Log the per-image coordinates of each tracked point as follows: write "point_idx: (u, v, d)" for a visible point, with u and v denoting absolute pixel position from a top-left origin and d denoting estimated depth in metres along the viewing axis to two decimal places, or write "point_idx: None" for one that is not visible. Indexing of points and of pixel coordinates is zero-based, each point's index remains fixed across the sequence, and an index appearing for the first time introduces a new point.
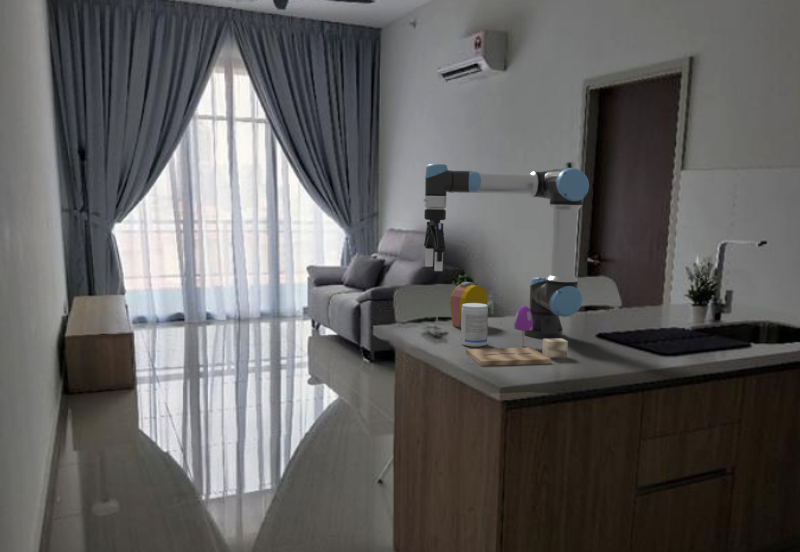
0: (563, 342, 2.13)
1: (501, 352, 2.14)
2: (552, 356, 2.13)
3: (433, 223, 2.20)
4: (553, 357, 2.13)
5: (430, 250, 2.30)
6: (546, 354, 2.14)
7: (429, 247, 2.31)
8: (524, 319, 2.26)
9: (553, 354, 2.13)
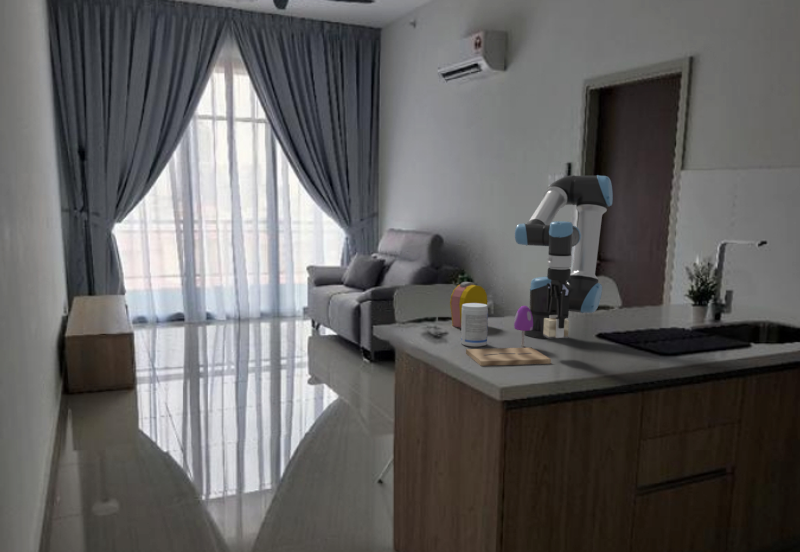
0: (564, 321, 2.13)
1: (501, 352, 2.14)
2: (553, 335, 2.13)
3: (559, 283, 2.10)
4: (554, 336, 2.13)
5: (554, 317, 2.17)
6: (547, 333, 2.13)
7: (553, 313, 2.17)
8: (524, 319, 2.26)
9: (554, 333, 2.13)
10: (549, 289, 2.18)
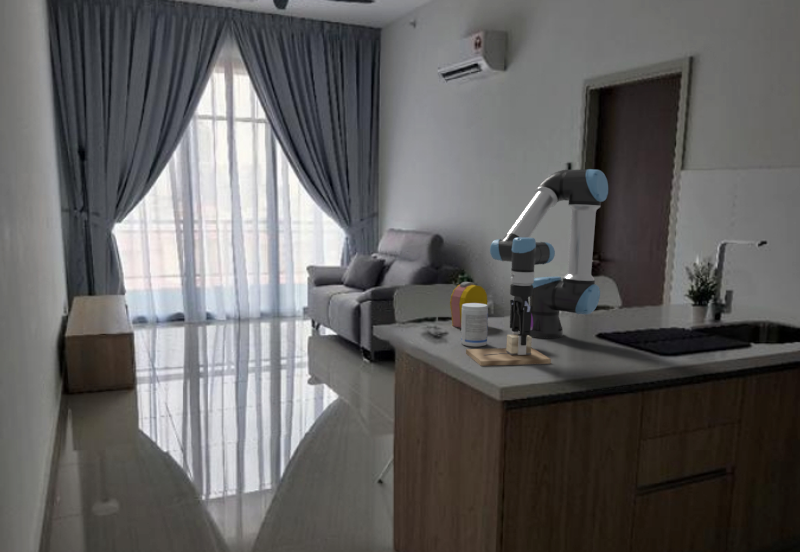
0: (527, 338, 2.10)
1: (501, 352, 2.14)
2: (516, 352, 2.10)
3: (521, 299, 2.08)
4: (517, 353, 2.10)
5: (517, 333, 2.14)
6: (510, 350, 2.11)
7: (516, 330, 2.15)
8: None
9: (517, 350, 2.10)
10: (512, 305, 2.15)
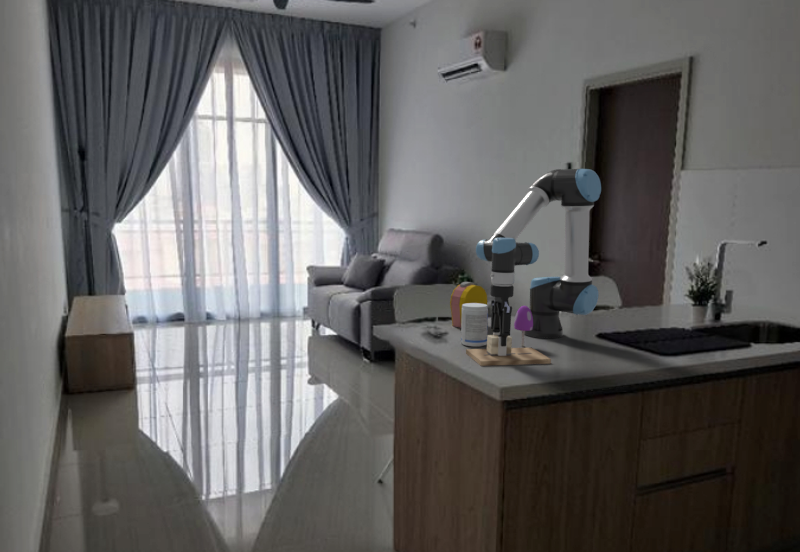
0: (507, 338, 2.09)
1: None
2: (496, 353, 2.09)
3: (501, 300, 2.06)
4: (497, 354, 2.09)
5: (498, 334, 2.13)
6: (490, 351, 2.09)
7: (497, 331, 2.13)
8: (524, 319, 2.26)
9: (497, 351, 2.09)
10: (493, 306, 2.14)
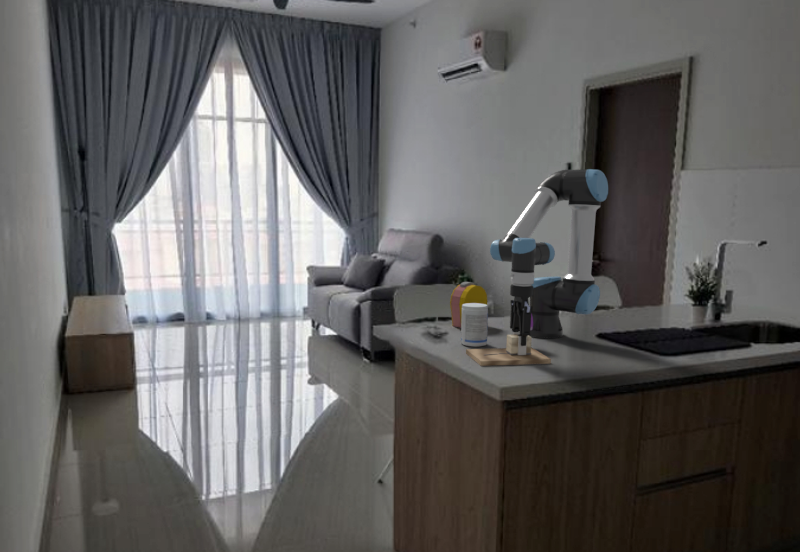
0: (527, 338, 2.10)
1: (501, 352, 2.14)
2: (515, 352, 2.10)
3: (521, 300, 2.08)
4: (516, 353, 2.10)
5: (518, 334, 2.14)
6: (509, 350, 2.11)
7: (516, 330, 2.15)
8: None
9: (517, 350, 2.10)
10: (513, 306, 2.16)
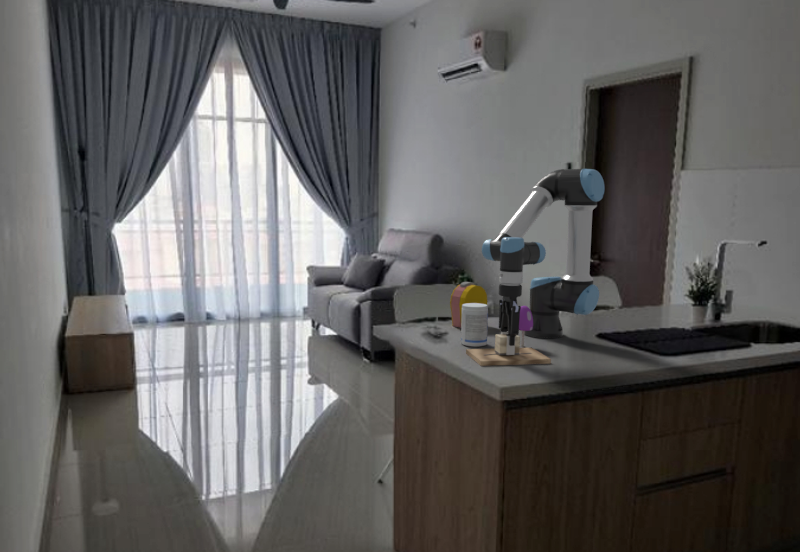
0: (515, 338, 2.09)
1: None
2: (504, 352, 2.09)
3: (509, 299, 2.07)
4: (505, 353, 2.09)
5: (506, 334, 2.13)
6: (498, 350, 2.10)
7: (505, 330, 2.14)
8: (524, 319, 2.26)
9: (505, 350, 2.09)
10: (501, 305, 2.15)
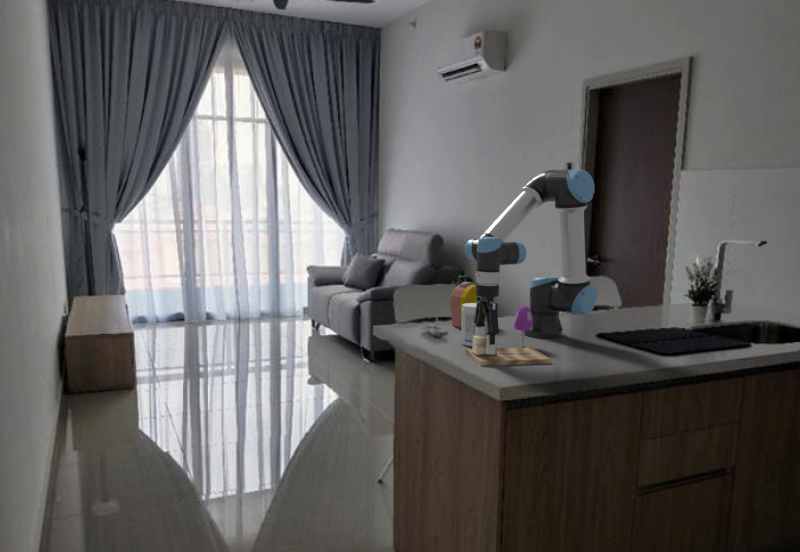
0: None
1: (501, 352, 2.14)
2: (481, 353, 2.08)
3: (486, 300, 2.06)
4: (482, 354, 2.08)
5: (481, 329, 2.15)
6: (475, 351, 2.08)
7: (480, 325, 2.15)
8: (524, 319, 2.26)
9: (482, 351, 2.08)
10: (478, 303, 2.14)
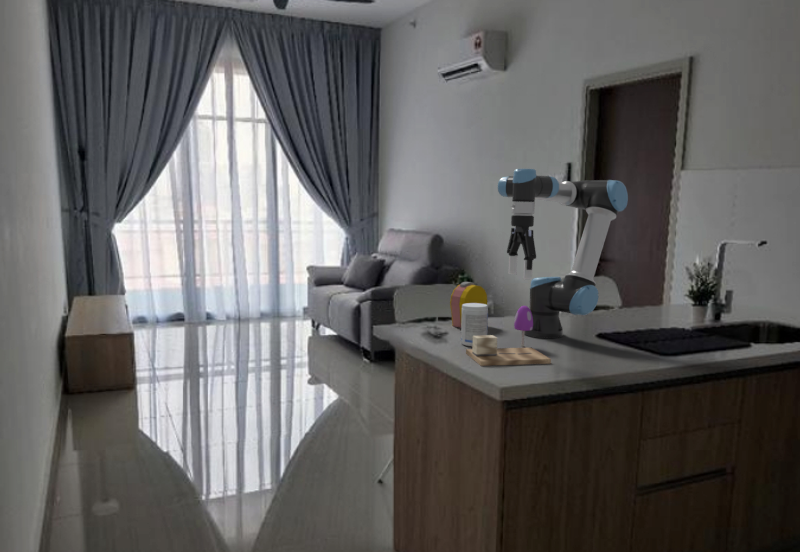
0: (492, 338, 2.08)
1: (501, 352, 2.14)
2: (481, 353, 2.08)
3: (521, 230, 2.12)
4: (482, 354, 2.08)
5: (514, 257, 2.22)
6: (475, 351, 2.08)
7: (513, 254, 2.23)
8: (524, 319, 2.26)
9: (482, 351, 2.08)
10: (513, 234, 2.21)
